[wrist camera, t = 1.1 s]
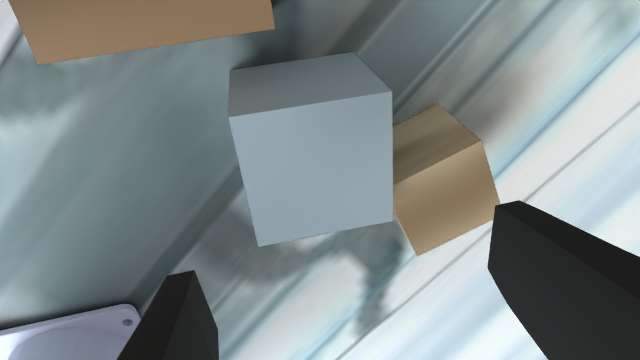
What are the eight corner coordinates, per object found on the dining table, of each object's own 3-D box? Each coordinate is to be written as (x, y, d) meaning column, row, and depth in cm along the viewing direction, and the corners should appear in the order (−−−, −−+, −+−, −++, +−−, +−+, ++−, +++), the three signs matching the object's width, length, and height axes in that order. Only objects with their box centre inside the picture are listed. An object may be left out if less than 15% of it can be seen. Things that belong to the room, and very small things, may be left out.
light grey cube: (358, 158, 19) (393, 221, 15) (252, 176, 19) (258, 247, 15) (352, 51, 17) (392, 91, 13) (229, 69, 16) (227, 117, 12)
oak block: (459, 168, 21) (503, 214, 17) (388, 204, 21) (417, 256, 18) (436, 102, 19) (481, 140, 15) (358, 144, 19) (384, 189, 16)
